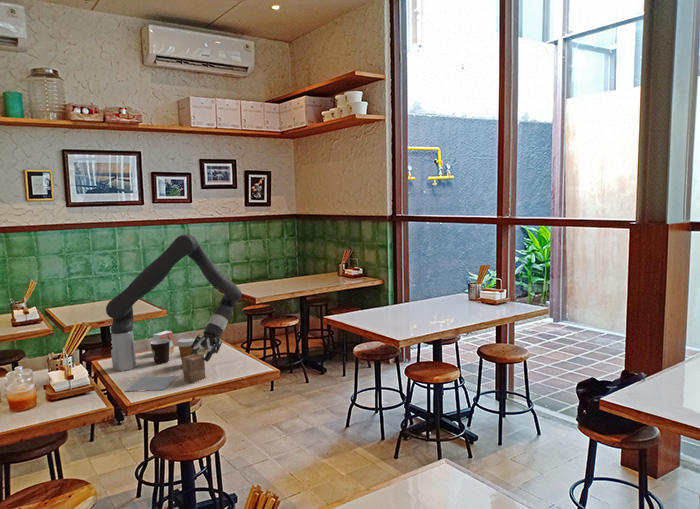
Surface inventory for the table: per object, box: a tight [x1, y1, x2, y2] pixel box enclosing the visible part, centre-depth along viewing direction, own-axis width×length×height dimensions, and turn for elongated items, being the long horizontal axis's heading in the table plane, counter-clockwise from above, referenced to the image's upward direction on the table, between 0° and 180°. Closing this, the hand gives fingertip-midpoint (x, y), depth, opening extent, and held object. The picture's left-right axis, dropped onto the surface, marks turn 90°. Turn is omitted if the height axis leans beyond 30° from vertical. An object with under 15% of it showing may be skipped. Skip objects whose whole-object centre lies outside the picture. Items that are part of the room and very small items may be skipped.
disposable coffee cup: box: [176, 336, 198, 366], centre depth 243 cm, size 10×10×12 cm
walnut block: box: [181, 354, 207, 383], centre depth 222 cm, size 6×6×10 cm
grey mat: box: [124, 375, 179, 392], centre depth 220 cm, size 16×16×1 cm
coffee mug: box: [150, 339, 170, 365], centre depth 251 cm, size 12×9×10 cm
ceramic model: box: [192, 332, 209, 355], centre depth 263 cm, size 14×11×10 cm
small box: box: [152, 330, 175, 353], centre depth 265 cm, size 8×6×10 cm
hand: (198, 359), depth 224 cm, fingers open, 8 cm apart
